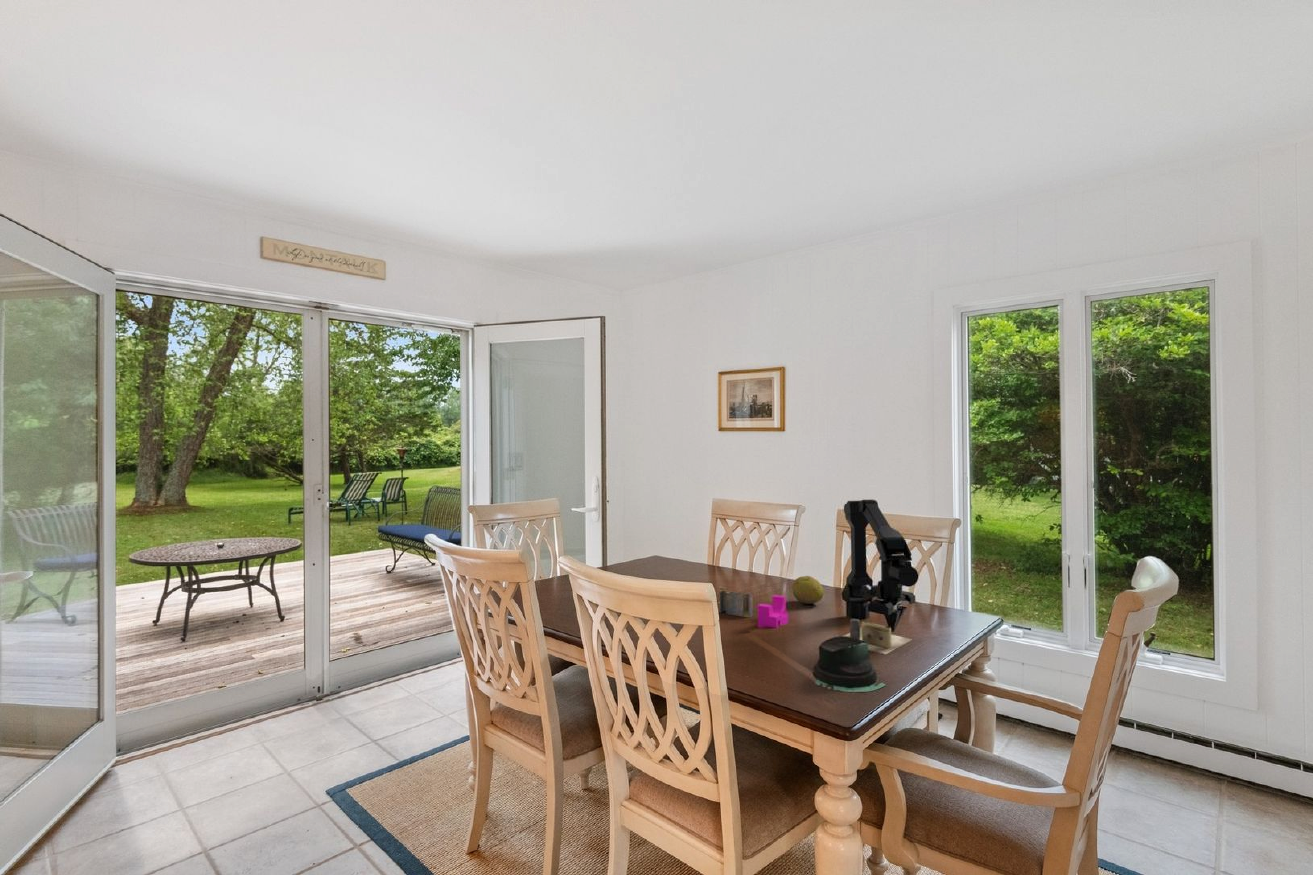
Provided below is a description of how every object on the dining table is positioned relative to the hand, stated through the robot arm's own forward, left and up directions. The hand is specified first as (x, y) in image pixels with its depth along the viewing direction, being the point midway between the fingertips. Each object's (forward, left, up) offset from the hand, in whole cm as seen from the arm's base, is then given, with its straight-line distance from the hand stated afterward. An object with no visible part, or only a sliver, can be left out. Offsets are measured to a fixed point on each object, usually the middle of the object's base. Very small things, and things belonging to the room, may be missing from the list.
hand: (892, 631), depth 177 cm
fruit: (-42, +21, -4) cm, 47 cm away
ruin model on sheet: (-52, -7, -5) cm, 53 cm away
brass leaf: (-2, -5, -3) cm, 6 cm away
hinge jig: (-5, -3, -4) cm, 7 cm away
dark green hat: (+2, -30, -5) cm, 30 cm away
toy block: (-36, -6, -5) cm, 37 cm away
